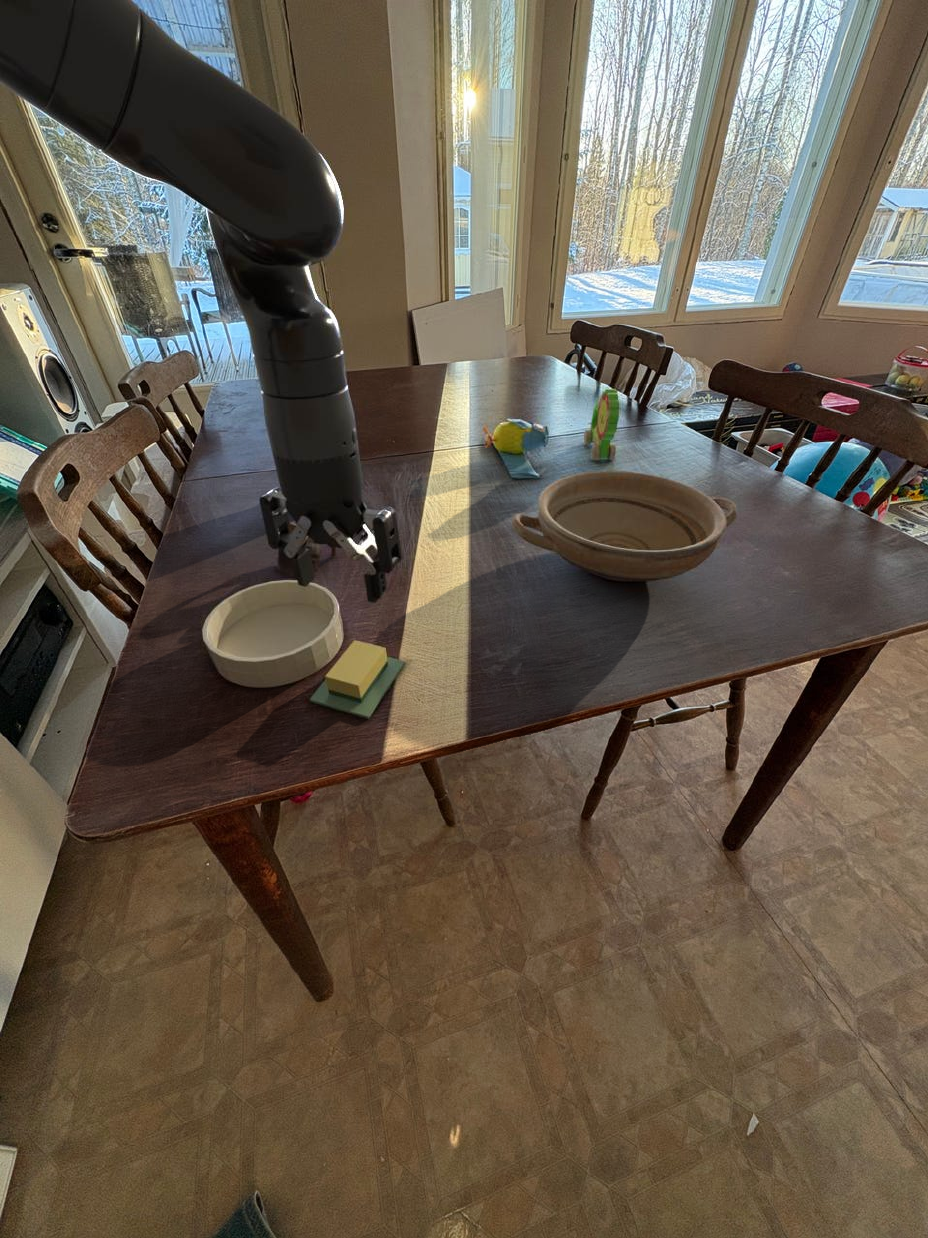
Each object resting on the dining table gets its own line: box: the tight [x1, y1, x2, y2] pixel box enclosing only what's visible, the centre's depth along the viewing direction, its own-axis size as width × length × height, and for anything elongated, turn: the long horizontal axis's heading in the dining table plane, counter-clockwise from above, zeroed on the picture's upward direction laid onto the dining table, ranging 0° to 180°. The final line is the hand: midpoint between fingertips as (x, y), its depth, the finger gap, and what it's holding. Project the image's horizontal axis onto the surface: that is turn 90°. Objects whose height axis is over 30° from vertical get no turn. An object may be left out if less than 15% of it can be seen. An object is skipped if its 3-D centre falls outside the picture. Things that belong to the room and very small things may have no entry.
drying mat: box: [309, 656, 406, 720], centre depth 64 cm, size 10×8×1 cm
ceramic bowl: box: [511, 470, 739, 582], centre depth 83 cm, size 37×29×10 cm
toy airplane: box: [482, 418, 550, 480], centre depth 121 cm, size 28×9×15 cm
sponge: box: [324, 640, 388, 703], centre depth 63 cm, size 7×4×3 cm, turn 160°
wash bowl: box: [201, 579, 344, 689], centre depth 69 cm, size 17×17×4 cm
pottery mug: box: [276, 521, 337, 578], centre depth 84 cm, size 12×10×8 cm
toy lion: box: [583, 388, 620, 461], centre depth 120 cm, size 16×5×15 cm, turn 0°
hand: (341, 590), depth 55 cm, fingers open, 8 cm apart
